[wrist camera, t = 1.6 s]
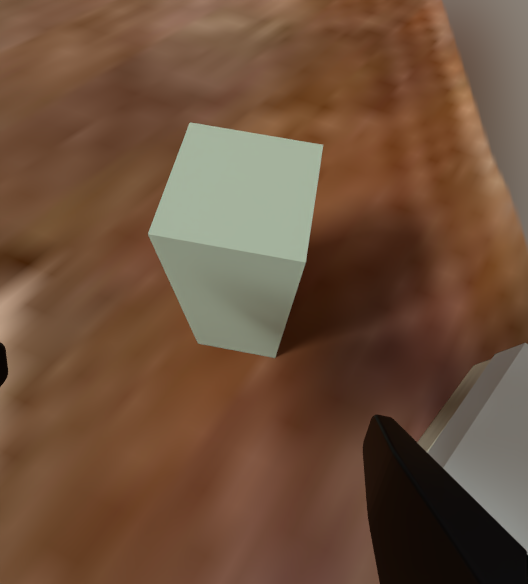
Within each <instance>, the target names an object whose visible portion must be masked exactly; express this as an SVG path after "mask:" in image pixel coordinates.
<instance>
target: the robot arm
mask: <svg viewBox="0 0 528 584" xmlns="http://www.w3.org/2000/svg"><path fill="white" fill-rule="evenodd" d="M7 375H8V366H7V358H6V349H5V346H4V345H3V344H2V343H0V386H1V385H2V384H3V383H4V382H5V380H6V378H7ZM363 461H364V474H365V487H366V500H367V511H368V520H369V526H370V532H371V538H372V543H373V549H374V554H375V559H376V565H377V570H378V576H379V581H380V584H528V555H527V551H526V550H525V548H523V547H522V546H521V545H520V544H519V543H518V542H517V541H516V540H515V539H514V538H513V537H512V536H511V535H510V534H509V533H508V532H507V531H506V530H505V529H504V528H503V527H502V526H501V525H500V524H499V523H498V522H497V521H496V520H495V519H494V518H493V517H492V516H491V515H490V514H489V513H488V512H487V511H486V510H485V509H484V508H483V507H482V506H481V505H480V504H479V503H478V502H477V501H476V500H475V499H474V498H473V497H472V496H471V495H470V494H469V493H468V492H467V491H466V490H465V489H464V488H463V487H462V486H461V485H460V484H459V483H458V482H457V481H456V480H455V479H454V478H453V477H452V476H451V475H450V474H449V473H448V472H447V471H445V470H444V469H443V468H442V467H441V466H440V465H439V464H438V463H437V462H436V461H435V460H434V459H433V458H432V457H431V456H430V455H429V454H428V453H427V452H426V451H425V450H424V449H423V448H422V447H421V446H420V445H419V444H418V443H417V442H416V441H415V440H414V439H413V438H412V437H411V436H410V435H409V434H408V433H407V432H406V431H405V430H404V429H403V428H402V427H401V426H400V425H399V424H398V423H397V422H396V421H395V420H394V419H393V418H391V417H387V416H381V415H374V416H373V417H372V419H371V421H370V424H369V427H368V430H367V433H366V436H365V439H364V443H363Z"/></svg>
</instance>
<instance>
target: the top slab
mask: <svg viewBox="0 0 528 584" xmlns="http://www.w3.org/2000/svg"><path fill="white" fill-rule="evenodd" d="M427 453H428V454H429V455H430V456H431V457H432V458H433V459H434V460H435V461H436V462H437V463H438V464H439V465H440V466H441V467H442V468H443V469H444V470H445V471H447V472H448V473H449V474H450V475H451V476H452V477H453V478H454V479H455V480H456V481H457V482H458V483H459V484H460V485H461V486H462V487H463V488H464V489H465V490H466V491H467V492H468V493H469V494H470V495H471V496H472V497H473V498H474V499H475V500H476V501H477V502H478V503H479V504H480V505H481V506H482V507H483V508H484V509H485V510H486V511H487V512H488V513H489V514H490V515H491V516H492V517H493V518H494V519H495V520H496V521H497V522H498V523H499V524H500V525H501V526H502V527H503V528H504V529H505V530H506V531H507V532H508V533H509V534H510V535H511V536H512V537H513V538H514V539H515V540H516V541H517V542H518V543H519V544H520V545H521V546H522V547H523V548H525V550H526V551H527V555H528V344H527V343H523V344H520V345H518V346H515V347H512V348H510V349H507V350H505V351H502V352H499V353H497V354H495V355H494V356H493V358H492V359H491V361H490V362H489V364H488V365H487V367H486V368H485V369H484V371H483V372H482V374H481V375H480V377H479V378H478V380H477V381H476V383H475V384H474V385H473V387H472V388H471V390H470V391H469V393H468V394H467V396H466V397H465V399H464V400H463V401H462V403H461V404H460V406H459V407H458V409H457V410H456V412H455V413H454V415H453V416H452V417H451V419H450V420H449V422H448V423H447V425H446V426H445V428H444V429H443V431H442V432H441V434H440V435H439V436H438V438H437V439H436V441H435V442H434V444H433V445H432V447H431V448H430V450H429V451H428V452H427Z"/></svg>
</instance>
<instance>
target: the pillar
mask: <svg viewBox="0 0 528 584" xmlns="http://www.w3.org/2000/svg"><path fill="white" fill-rule="evenodd" d="M322 149H323V145H320V144H314V143H308V142H302V141H297V140H291V139H285V138H279V137H273V136H267V135H261V134H255V133H249V132H243V131H237V130H231V129H226V128H220V127H214V126H208V125H202V124H196V123H190V124H189V126H188V129H187V132H186V134H185V137H184V140H183V142H182V145H181V147H180V150H179V153H178V155H177V158H176V161H175V163H174V166H173V169H172V171H171V174H170V177H169V179H168V182H167V185H166V187H165V190H164V193H163V195H162V198H161V201H160V203H159V206H158V209H157V211H156V214H155V217H154V219H153V222H152V225H151V227H150V230H149V233H148V235H149V238H150V240H151V242H152V244H153V246H154V248H155V251H156V253H157V255H158V257H159V259H160V262H161V264H162V266H163V268H164V270H165V272H166V275H167V277H168V279H169V281H170V283H171V286H172V288H173V290H174V292H175V294H176V296H177V299H178V301H179V303H180V305H181V307H182V310H183V312H184V314H185V316H186V318H187V320H188V323H189V325H190V327H191V329H192V331H193V334H194V336H195V338H196V340H197V342H198V343H199V344H204V345H209V346H215V347H220V348H225V349H230V350H236V351H241V352H246V353H252V354H257V355H262V356H268V357H273V358H275V357H276V354H277V350H278V347H279V344H280V341H281V338H282V335H283V332H284V329H285V326H286V322H287V319H288V316H289V313H290V310H291V307H292V304H293V301H294V298H295V295H296V291H297V288H298V285H299V282H300V279H301V276H302V273H303V270H304V267H305V263H306V258H307V251H308V244H309V238H310V231H311V224H312V217H313V210H314V204H315V197H316V190H317V183H318V177H319V170H320V163H321V156H322Z"/></svg>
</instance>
